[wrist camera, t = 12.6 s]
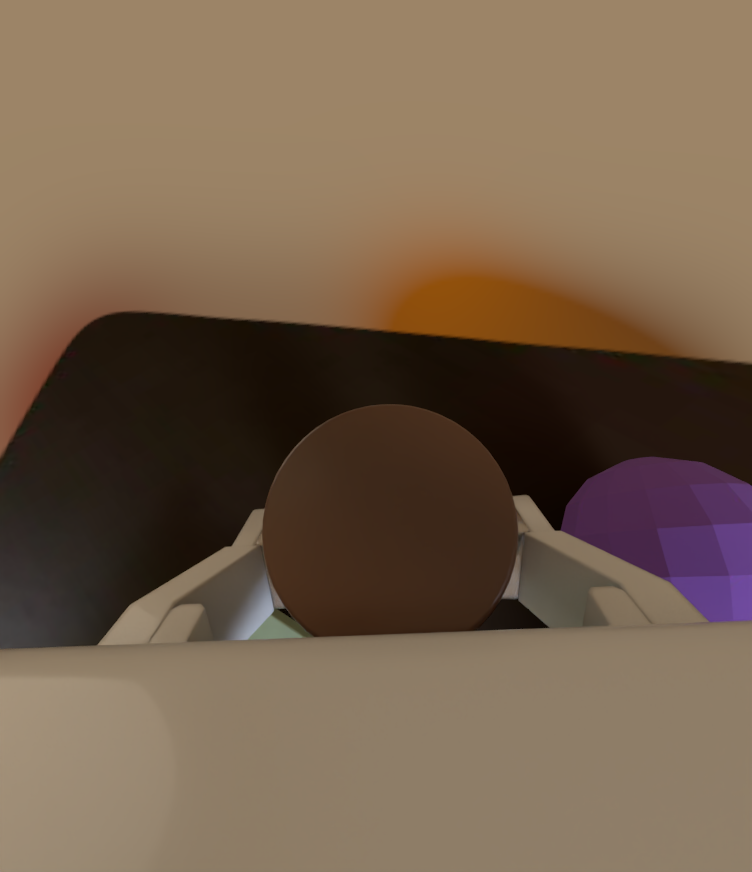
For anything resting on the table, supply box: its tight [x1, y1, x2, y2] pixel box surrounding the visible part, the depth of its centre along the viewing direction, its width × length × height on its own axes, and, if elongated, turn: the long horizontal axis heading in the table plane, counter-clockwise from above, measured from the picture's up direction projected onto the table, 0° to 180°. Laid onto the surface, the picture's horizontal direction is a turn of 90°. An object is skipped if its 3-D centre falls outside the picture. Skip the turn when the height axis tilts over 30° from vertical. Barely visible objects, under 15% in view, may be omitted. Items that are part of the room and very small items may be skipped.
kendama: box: [561, 457, 752, 622], centre depth 10 cm, size 6×6×20 cm
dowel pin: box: [262, 404, 518, 637], centre depth 10 cm, size 4×4×10 cm
